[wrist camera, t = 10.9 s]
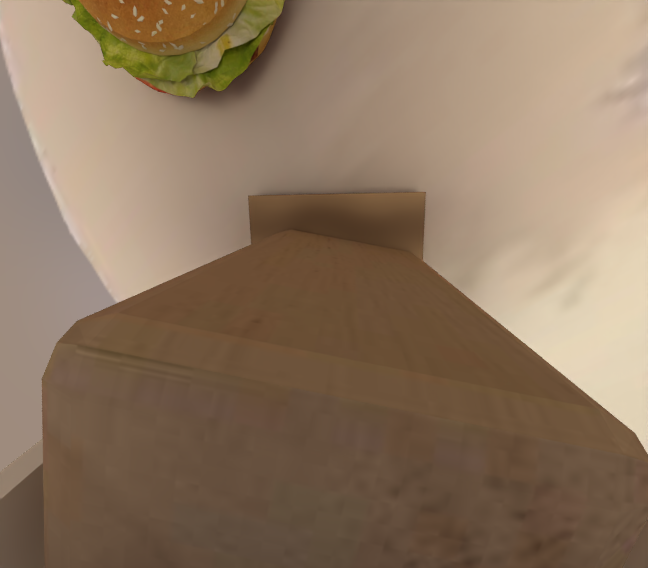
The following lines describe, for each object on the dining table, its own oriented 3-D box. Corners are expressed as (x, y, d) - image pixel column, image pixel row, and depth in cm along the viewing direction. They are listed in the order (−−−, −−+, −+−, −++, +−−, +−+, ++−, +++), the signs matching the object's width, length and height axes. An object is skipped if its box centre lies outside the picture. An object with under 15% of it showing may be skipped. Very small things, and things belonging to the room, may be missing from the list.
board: (257, 196, 27) (247, 195, 24) (418, 192, 26) (425, 192, 23) (269, 387, 30) (261, 404, 28) (410, 390, 29) (415, 408, 27)
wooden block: (260, 355, 27) (21, 767, 7) (279, 225, 24) (3, 321, 5) (389, 381, 26) (499, 881, 7) (421, 252, 24) (725, 467, 5)
